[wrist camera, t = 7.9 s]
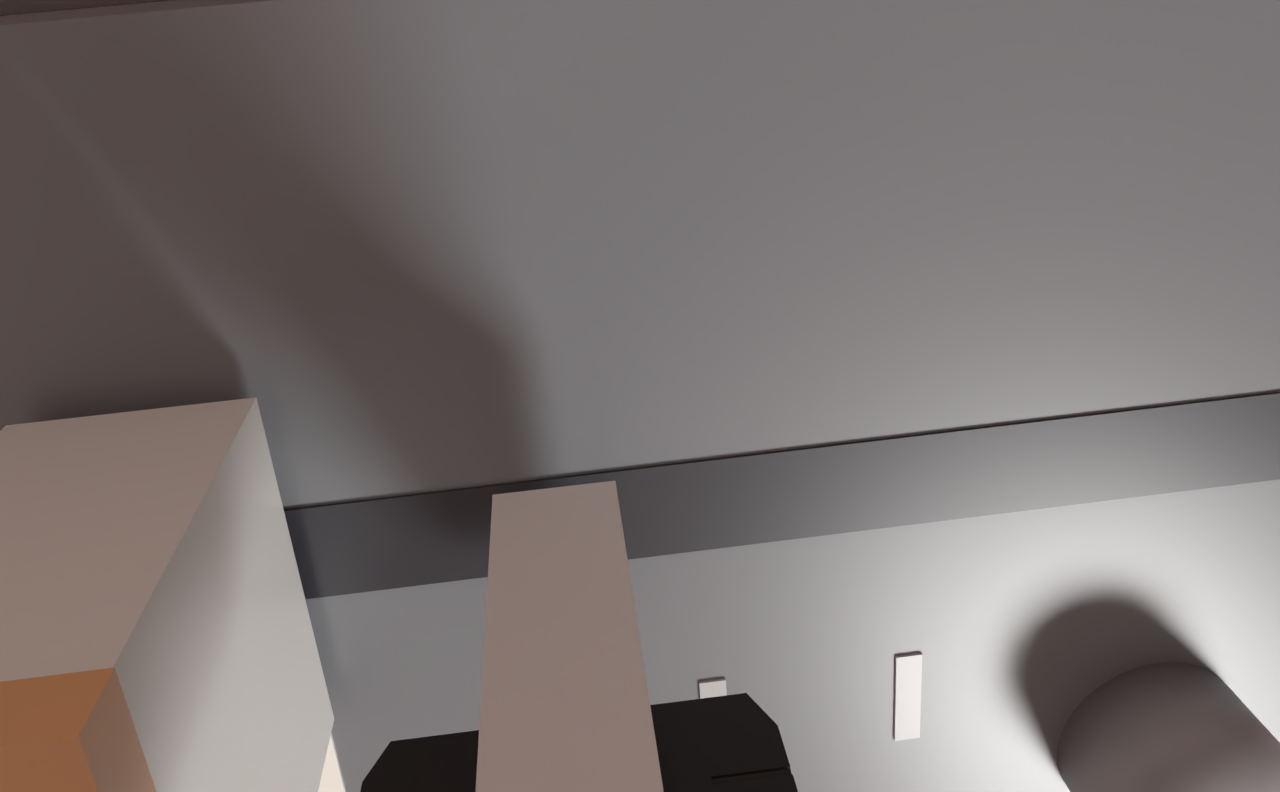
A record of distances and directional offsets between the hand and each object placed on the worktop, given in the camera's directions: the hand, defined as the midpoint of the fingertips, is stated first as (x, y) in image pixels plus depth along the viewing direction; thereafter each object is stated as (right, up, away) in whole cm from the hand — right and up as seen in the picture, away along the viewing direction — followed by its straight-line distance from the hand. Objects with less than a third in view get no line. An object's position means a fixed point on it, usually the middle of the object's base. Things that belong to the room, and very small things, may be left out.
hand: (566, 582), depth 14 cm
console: (+1, +2, +3) cm, 4 cm away
